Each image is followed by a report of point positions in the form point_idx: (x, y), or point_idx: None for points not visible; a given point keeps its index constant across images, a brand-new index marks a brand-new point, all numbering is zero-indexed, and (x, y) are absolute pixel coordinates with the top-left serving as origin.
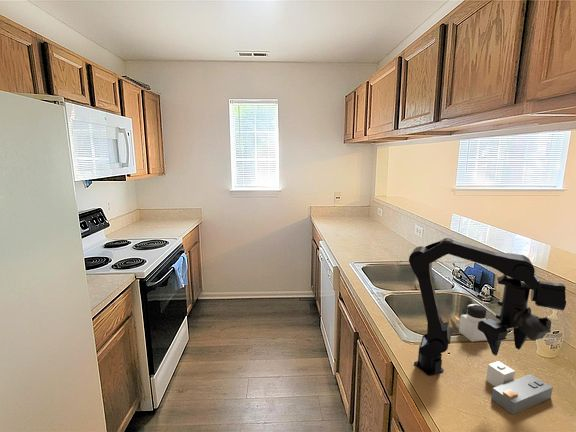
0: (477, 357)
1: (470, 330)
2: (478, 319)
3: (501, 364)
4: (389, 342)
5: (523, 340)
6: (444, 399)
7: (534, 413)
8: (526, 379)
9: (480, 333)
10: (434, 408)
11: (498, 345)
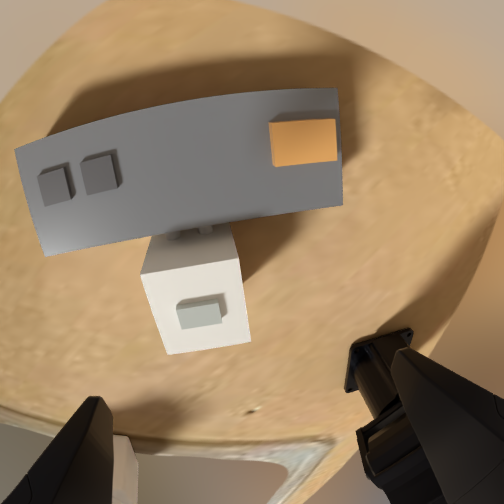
0: (162, 388)
1: (128, 470)
2: None
3: (175, 331)
4: None
5: (60, 479)
6: (454, 230)
7: (204, 67)
8: (94, 224)
9: None
10: (492, 208)
11: (501, 409)
